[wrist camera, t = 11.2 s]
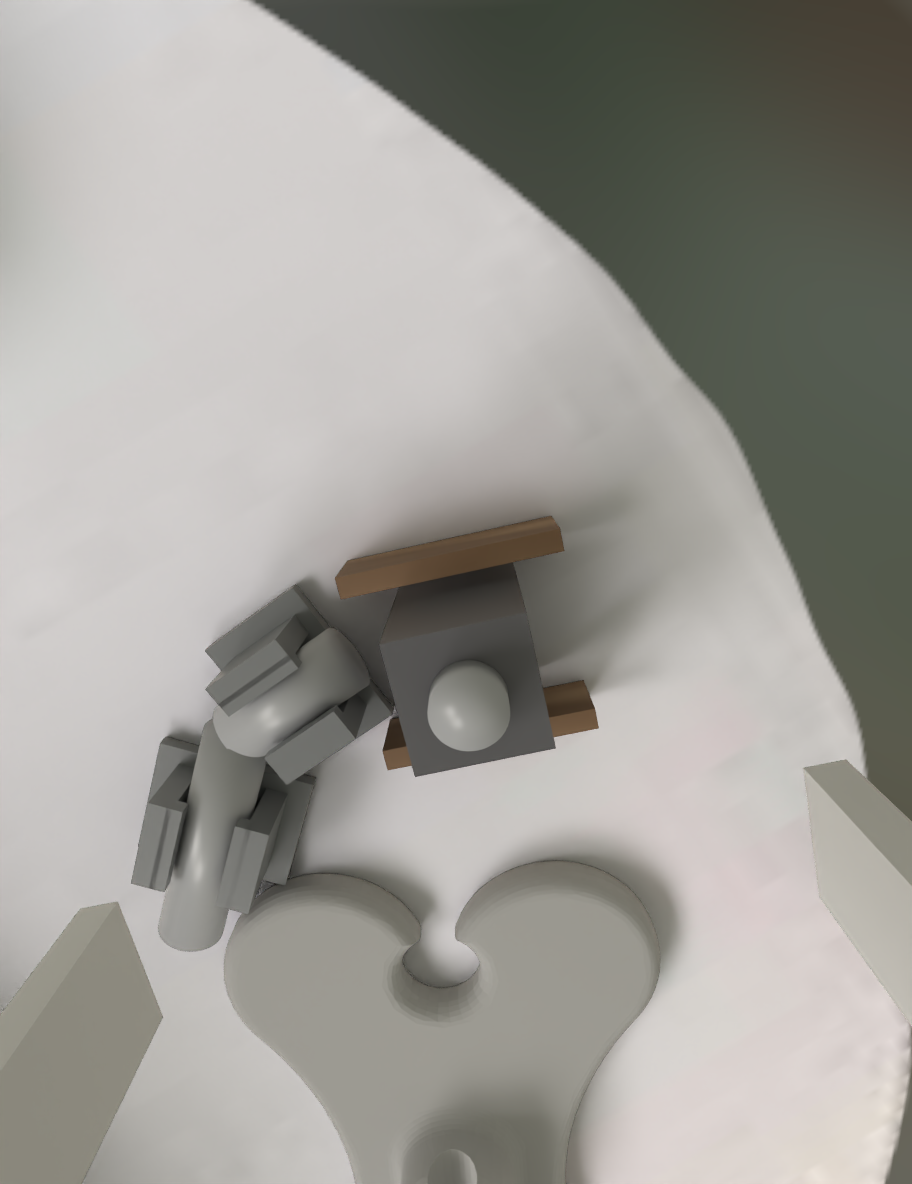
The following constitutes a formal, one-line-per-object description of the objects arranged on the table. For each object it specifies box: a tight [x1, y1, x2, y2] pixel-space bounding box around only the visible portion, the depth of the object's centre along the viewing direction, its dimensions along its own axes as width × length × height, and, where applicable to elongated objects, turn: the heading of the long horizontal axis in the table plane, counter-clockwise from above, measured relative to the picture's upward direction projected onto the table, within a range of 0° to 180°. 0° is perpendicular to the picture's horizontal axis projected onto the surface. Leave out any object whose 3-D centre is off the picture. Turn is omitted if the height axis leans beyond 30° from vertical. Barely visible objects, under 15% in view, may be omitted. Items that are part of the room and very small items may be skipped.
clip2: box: [205, 584, 394, 785], centre depth 28 cm, size 5×6×4 cm
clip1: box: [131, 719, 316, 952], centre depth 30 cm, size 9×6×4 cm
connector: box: [379, 562, 556, 777], centre depth 26 cm, size 4×4×8 cm
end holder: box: [335, 516, 599, 770], centre depth 28 cm, size 8×8×3 cm
